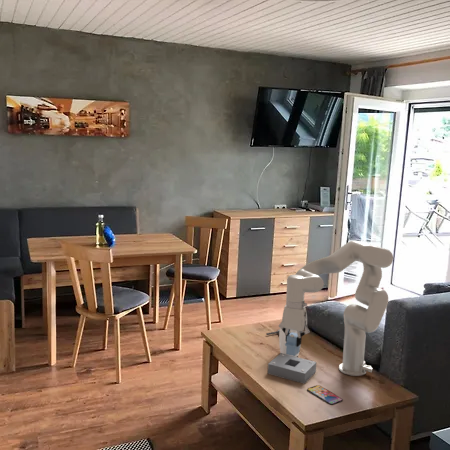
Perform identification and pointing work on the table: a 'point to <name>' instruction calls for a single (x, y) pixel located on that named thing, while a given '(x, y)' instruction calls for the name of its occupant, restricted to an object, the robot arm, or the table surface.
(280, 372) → the plate
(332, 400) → the smartphone
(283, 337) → the bottle
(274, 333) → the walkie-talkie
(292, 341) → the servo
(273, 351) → the table surface
